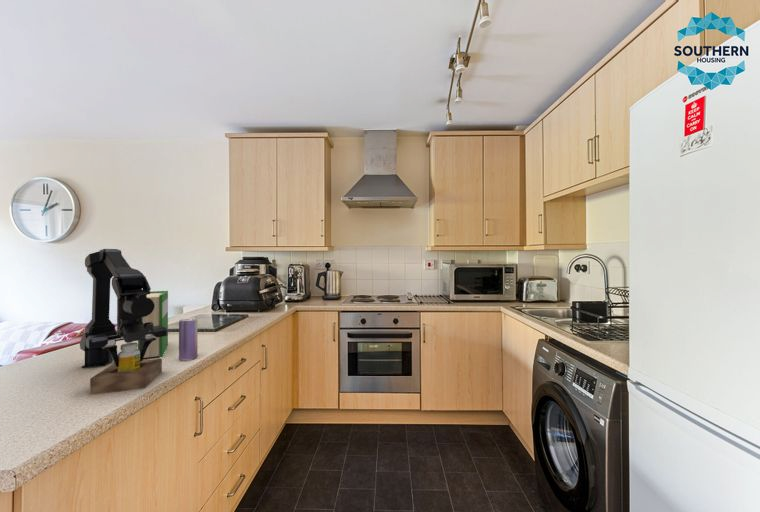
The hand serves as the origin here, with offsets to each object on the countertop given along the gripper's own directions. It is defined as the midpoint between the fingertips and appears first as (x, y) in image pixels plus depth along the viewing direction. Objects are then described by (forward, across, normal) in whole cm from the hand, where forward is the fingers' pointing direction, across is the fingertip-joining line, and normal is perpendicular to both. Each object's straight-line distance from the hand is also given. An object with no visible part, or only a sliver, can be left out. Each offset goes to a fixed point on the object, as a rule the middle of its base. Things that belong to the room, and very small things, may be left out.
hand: (129, 363), depth 92 cm
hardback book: (+6, +14, +28) cm, 32 cm away
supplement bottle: (+4, 0, 0) cm, 4 cm away
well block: (+6, 0, 0) cm, 6 cm away
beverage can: (+6, +20, +10) cm, 23 cm away
